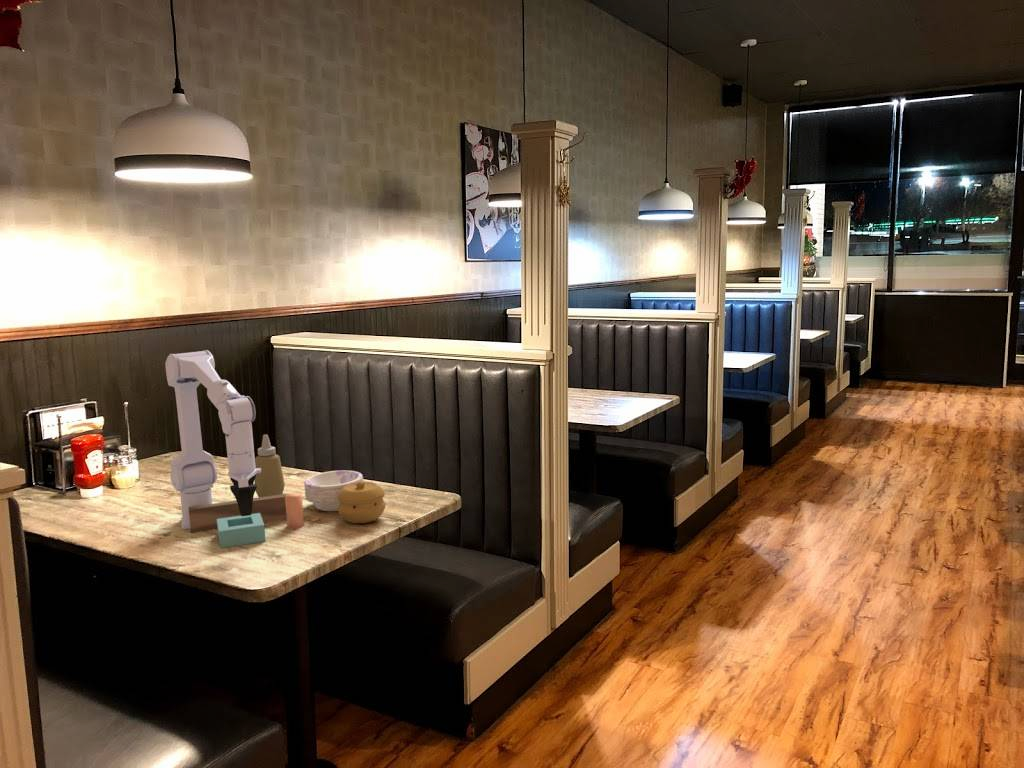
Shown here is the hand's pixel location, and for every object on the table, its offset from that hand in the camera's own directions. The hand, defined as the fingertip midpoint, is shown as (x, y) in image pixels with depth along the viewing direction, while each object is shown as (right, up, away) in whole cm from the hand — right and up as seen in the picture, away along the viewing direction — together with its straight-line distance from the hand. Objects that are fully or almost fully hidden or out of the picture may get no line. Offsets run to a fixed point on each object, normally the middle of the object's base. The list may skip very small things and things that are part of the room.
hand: (246, 510), depth 189 cm
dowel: (+7, -7, +18) cm, 20 cm away
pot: (+23, -6, +21) cm, 31 cm away
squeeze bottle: (-6, -3, +41) cm, 42 cm away
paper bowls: (+13, -4, +33) cm, 36 cm away
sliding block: (-4, -8, +10) cm, 13 cm away
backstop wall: (-7, -7, +20) cm, 23 cm away
